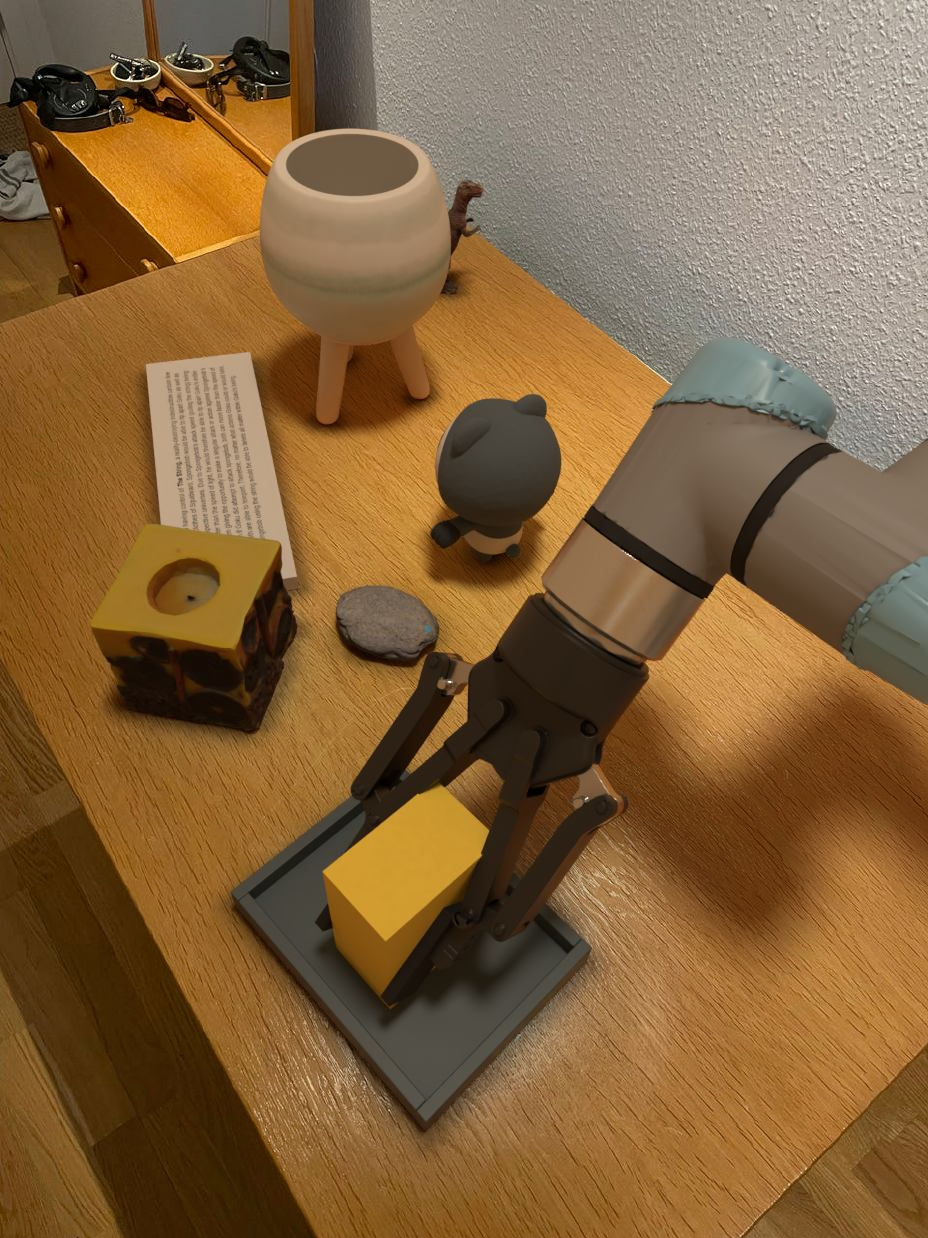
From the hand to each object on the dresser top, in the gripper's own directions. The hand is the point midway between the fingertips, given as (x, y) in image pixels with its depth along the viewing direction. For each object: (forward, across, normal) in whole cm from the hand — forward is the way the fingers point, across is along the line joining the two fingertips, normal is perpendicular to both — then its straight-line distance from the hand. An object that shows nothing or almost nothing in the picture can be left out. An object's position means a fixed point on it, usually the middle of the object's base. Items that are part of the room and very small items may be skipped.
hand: (365, 957), depth 54 cm
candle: (-2, +25, -8) cm, 27 cm away
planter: (-23, +43, -29) cm, 57 cm away
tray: (0, 0, -5) cm, 5 cm away
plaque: (-11, +43, -16) cm, 47 cm away
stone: (-10, +19, -16) cm, 27 cm away
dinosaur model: (-34, +53, -40) cm, 75 cm away
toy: (-19, +20, -25) cm, 37 cm away
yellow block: (0, 0, -5) cm, 5 cm away
